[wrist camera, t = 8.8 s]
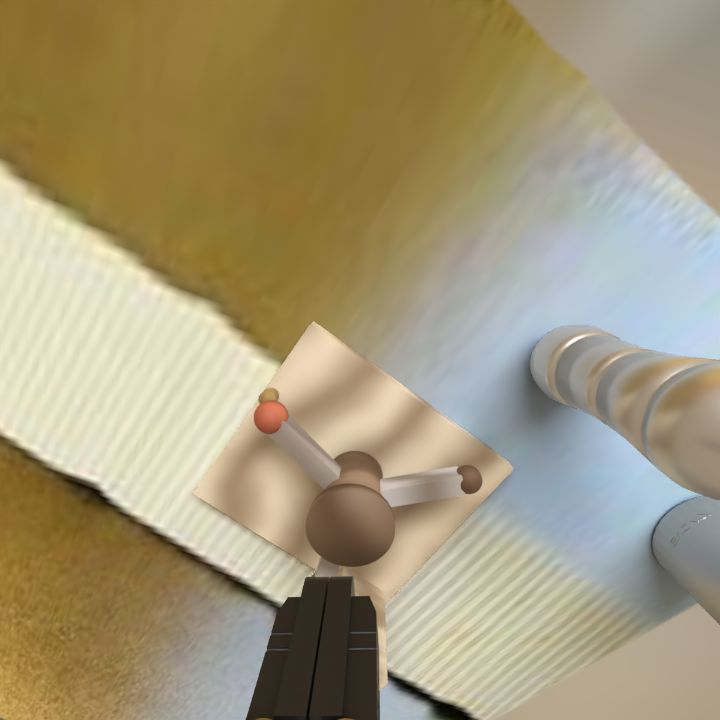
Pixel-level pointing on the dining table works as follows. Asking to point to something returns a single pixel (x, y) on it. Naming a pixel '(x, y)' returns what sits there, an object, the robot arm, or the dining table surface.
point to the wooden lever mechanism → (339, 435)
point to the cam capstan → (355, 493)
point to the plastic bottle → (639, 398)
